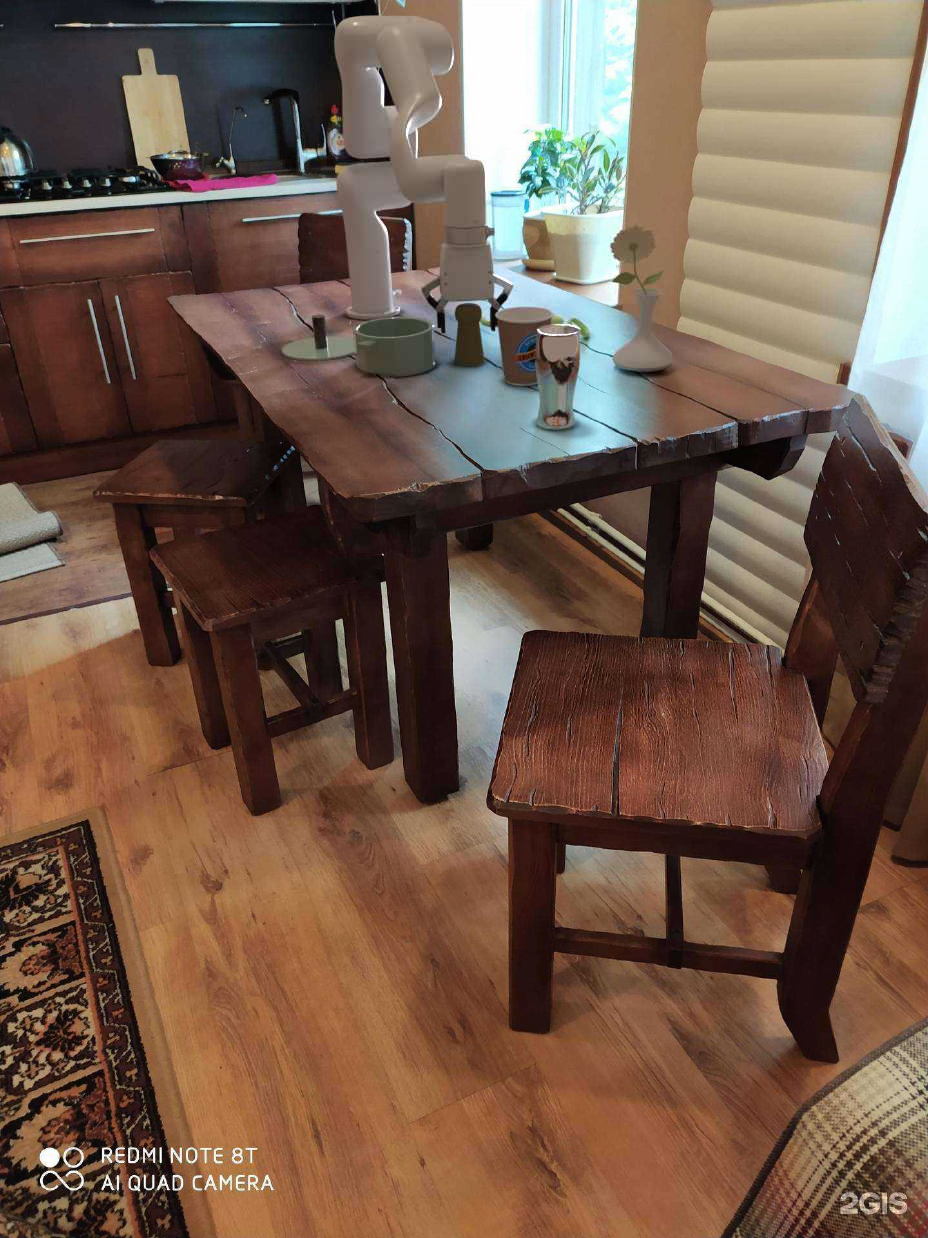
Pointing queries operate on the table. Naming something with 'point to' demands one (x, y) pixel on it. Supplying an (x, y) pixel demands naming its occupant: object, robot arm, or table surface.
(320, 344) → the lid
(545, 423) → the beer glass
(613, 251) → the flower in vase
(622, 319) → the table surface
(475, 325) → the cork
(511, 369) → the coffee cup
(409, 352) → the pot
